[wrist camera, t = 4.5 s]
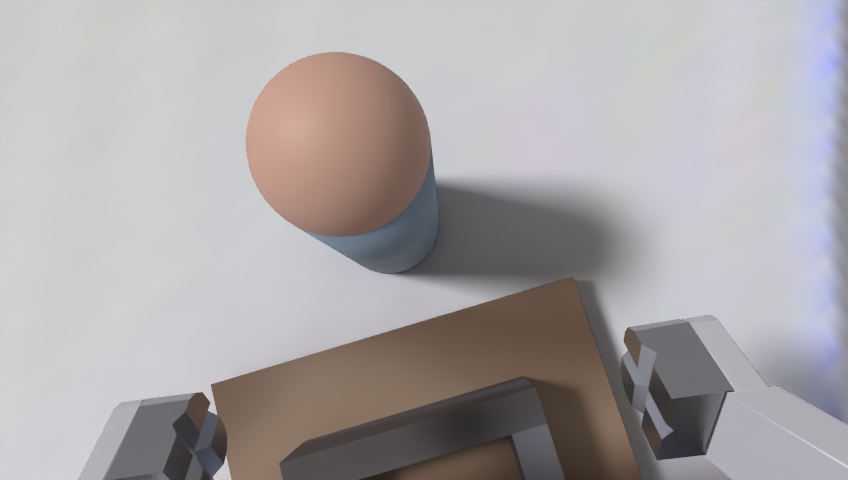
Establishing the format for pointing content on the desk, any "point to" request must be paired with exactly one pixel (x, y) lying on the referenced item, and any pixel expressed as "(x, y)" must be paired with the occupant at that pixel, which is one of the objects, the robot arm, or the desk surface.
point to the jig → (438, 402)
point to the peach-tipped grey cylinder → (347, 159)
